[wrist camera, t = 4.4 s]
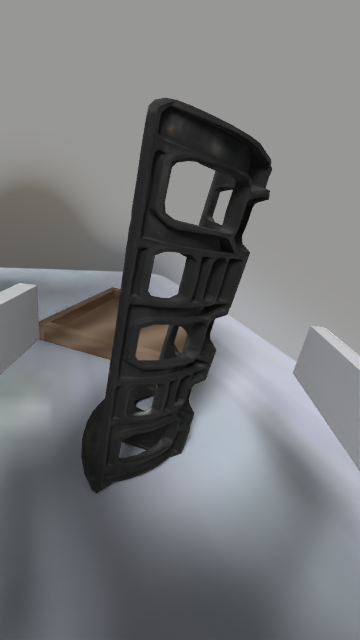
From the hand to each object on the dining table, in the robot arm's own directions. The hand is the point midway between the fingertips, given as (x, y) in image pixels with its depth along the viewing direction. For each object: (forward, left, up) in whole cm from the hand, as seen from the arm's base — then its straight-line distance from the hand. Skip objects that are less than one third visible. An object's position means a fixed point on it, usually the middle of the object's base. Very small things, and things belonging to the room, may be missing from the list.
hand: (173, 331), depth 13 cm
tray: (-10, +21, -11) cm, 25 cm away
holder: (-2, +4, -11) cm, 12 cm away
